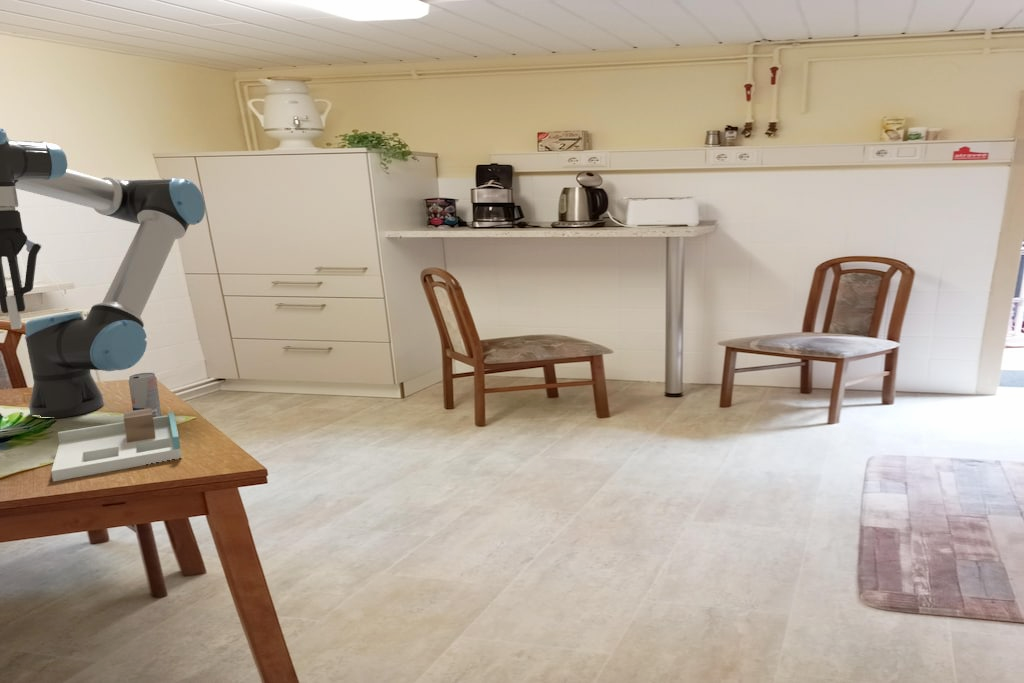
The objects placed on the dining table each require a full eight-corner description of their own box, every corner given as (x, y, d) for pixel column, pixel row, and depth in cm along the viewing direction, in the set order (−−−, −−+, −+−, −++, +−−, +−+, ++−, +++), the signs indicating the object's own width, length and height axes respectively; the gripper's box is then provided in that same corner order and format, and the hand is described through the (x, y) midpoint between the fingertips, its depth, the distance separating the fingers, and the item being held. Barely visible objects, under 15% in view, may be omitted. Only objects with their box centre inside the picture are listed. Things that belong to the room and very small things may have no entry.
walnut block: (127, 435, 142) (124, 412, 141) (154, 430, 144) (151, 407, 143) (127, 442, 138) (123, 418, 137) (155, 438, 140) (152, 414, 139)
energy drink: (137, 426, 154) (130, 374, 152) (164, 423, 156) (157, 371, 153) (134, 433, 149) (126, 379, 147) (161, 430, 151) (154, 377, 148)
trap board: (61, 450, 140) (57, 429, 139) (176, 431, 150) (173, 411, 149) (53, 481, 124) (48, 458, 124) (181, 458, 134) (178, 436, 133)
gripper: (-51, 210, 129) (-27, 334, 134) (33, 208, 135) (53, 327, 140) (-42, 210, 136) (-20, 328, 141) (37, 208, 142) (56, 321, 147)
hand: (16, 327), depth 140 cm, fingers closed
